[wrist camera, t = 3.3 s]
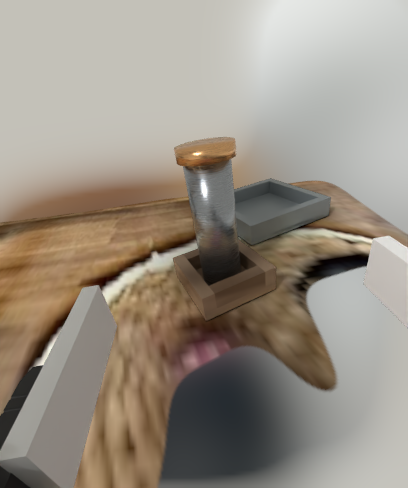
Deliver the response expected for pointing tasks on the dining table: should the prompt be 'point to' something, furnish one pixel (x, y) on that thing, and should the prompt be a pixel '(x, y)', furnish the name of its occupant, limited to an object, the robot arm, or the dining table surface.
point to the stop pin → (212, 204)
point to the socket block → (225, 282)
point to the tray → (275, 209)
